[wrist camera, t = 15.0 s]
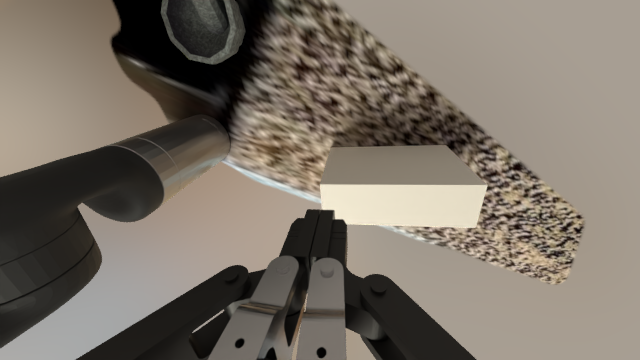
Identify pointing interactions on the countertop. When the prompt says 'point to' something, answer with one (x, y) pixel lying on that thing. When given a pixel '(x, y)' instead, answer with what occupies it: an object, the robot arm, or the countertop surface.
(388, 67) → the countertop surface
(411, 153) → the control box
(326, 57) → the countertop surface
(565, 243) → the countertop surface
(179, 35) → the mortar and pestle
